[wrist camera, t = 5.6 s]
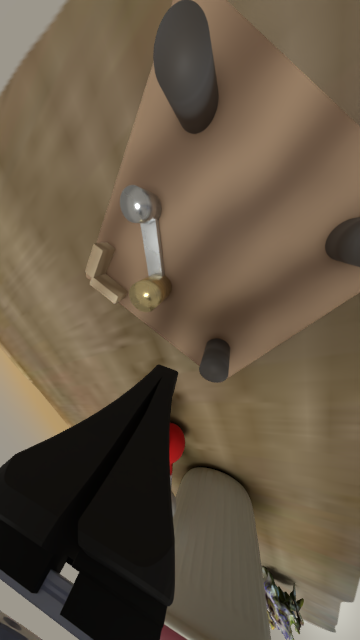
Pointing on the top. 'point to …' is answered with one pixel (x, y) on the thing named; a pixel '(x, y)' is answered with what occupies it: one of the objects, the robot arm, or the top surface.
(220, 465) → the top surface
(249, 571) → the canister
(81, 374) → the top surface
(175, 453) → the molecular model
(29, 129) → the top surface
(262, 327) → the wooden board with pegs
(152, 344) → the top surface
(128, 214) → the metal crank handle
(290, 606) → the passion flower
